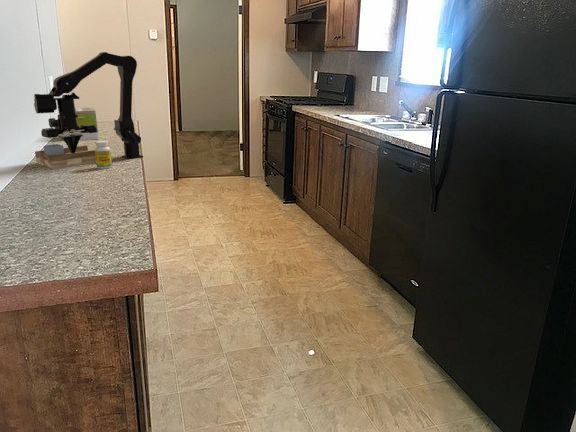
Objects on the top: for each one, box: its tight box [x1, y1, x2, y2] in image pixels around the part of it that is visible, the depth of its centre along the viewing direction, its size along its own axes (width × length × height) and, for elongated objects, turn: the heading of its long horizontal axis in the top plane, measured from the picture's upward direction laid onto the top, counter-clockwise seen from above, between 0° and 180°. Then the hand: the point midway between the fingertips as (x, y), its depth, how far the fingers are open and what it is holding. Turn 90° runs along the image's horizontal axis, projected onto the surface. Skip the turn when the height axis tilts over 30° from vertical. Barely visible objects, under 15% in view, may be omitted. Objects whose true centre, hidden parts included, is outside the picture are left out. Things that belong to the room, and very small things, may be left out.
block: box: [43, 143, 65, 156], centre depth 174 cm, size 5×5×5 cm
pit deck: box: [34, 145, 96, 169], centre depth 182 cm, size 14×20×4 cm
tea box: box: [75, 107, 100, 141], centre depth 240 cm, size 15×10×15 cm
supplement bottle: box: [94, 140, 113, 170], centre depth 172 cm, size 5×5×10 cm
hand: (73, 153), depth 180 cm, fingers closed
